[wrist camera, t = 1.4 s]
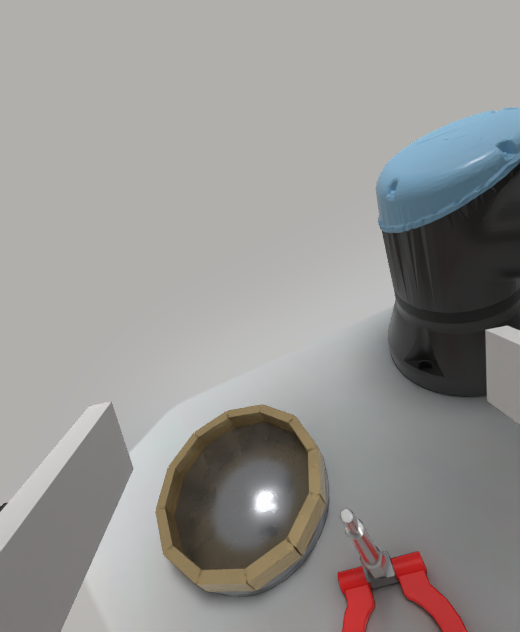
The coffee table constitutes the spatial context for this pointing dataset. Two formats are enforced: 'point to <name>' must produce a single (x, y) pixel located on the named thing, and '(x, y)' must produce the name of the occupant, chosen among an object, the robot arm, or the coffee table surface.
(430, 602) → the tow hook
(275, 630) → the coffee table surface
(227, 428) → the wooden rimmed bowl
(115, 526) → the coffee table surface
